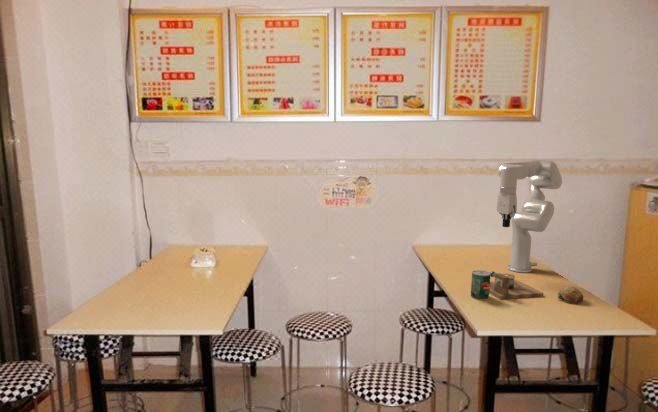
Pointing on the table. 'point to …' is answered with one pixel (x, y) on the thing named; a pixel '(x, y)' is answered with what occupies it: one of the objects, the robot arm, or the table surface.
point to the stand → (503, 291)
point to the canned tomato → (480, 285)
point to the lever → (511, 277)
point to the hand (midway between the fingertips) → (506, 226)
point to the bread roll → (570, 295)
